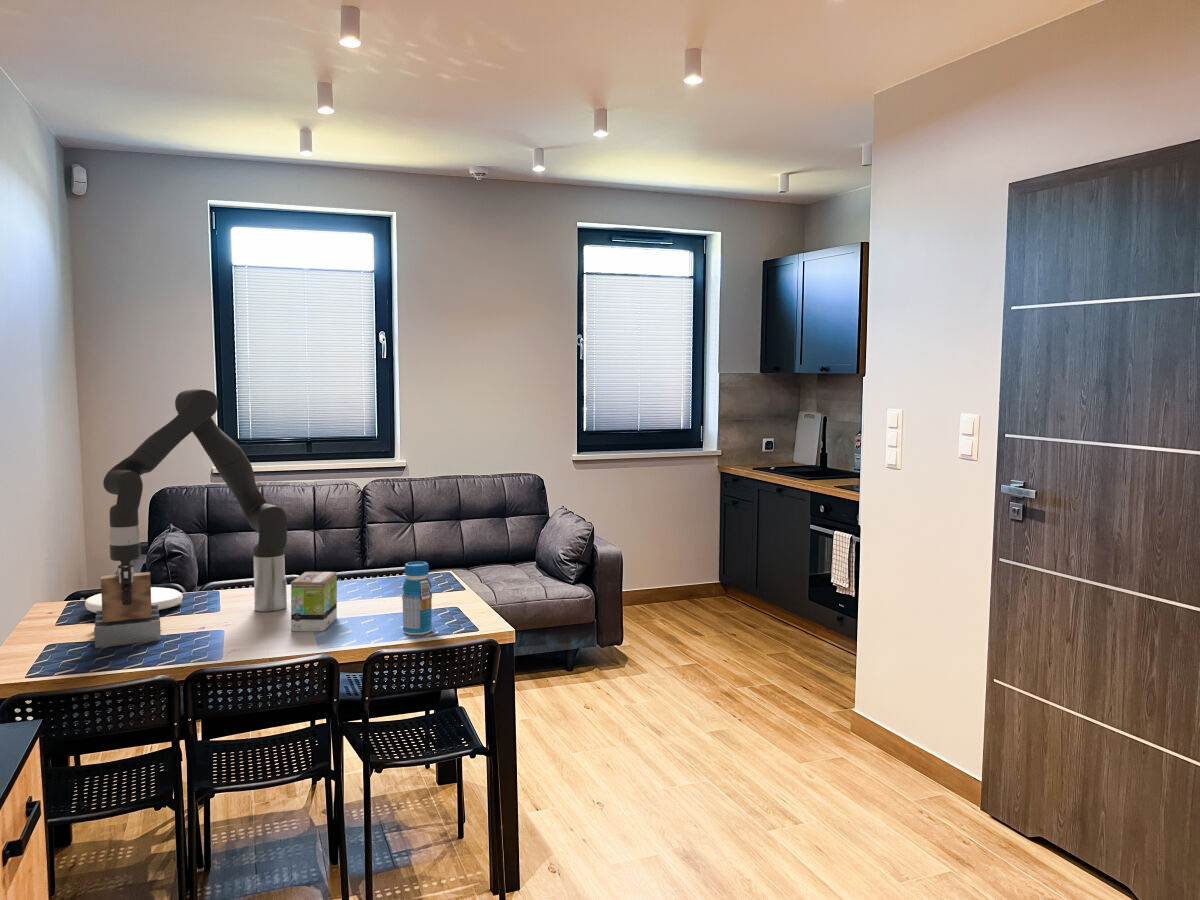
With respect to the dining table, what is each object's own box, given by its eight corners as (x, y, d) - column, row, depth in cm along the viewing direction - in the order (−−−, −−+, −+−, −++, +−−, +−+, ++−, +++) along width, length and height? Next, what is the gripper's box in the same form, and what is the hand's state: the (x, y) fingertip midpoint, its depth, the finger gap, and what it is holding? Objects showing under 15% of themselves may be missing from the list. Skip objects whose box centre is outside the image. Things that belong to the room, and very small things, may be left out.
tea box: (325, 632, 259) (324, 581, 258) (290, 632, 258) (289, 581, 257) (337, 618, 274) (337, 570, 273) (304, 618, 273) (303, 570, 272)
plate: (130, 582, 299) (201, 587, 294) (129, 602, 299) (200, 607, 294) (64, 593, 272) (141, 598, 266) (63, 614, 272) (140, 620, 266)
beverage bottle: (402, 636, 254) (401, 567, 253) (402, 628, 263) (401, 561, 261) (432, 635, 256) (431, 566, 254) (432, 627, 264) (431, 560, 263)
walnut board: (151, 613, 253) (150, 571, 252) (151, 617, 250) (150, 574, 249) (102, 618, 248) (101, 576, 247) (102, 622, 244) (100, 578, 243)
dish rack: (158, 622, 267) (157, 579, 266) (160, 640, 250) (159, 593, 249) (97, 629, 260) (95, 584, 259) (95, 648, 242) (93, 599, 241)
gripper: (140, 545, 242) (142, 607, 244) (139, 536, 255) (141, 596, 256) (109, 547, 239) (111, 610, 240) (109, 538, 251) (112, 598, 253)
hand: (127, 602), depth 248 cm, fingers closed on walnut board, 4 cm apart
